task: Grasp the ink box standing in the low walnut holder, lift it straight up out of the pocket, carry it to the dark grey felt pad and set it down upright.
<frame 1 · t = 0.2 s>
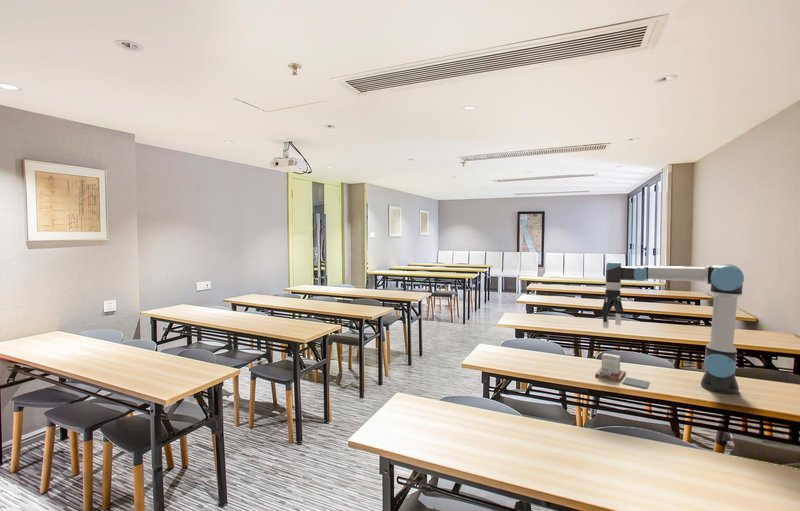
hand: (611, 326, 219), 27 cm above the table, fingers open, 13 cm apart
holder: (610, 375, 215), on the table
ink box: (610, 376, 215), resting in holder
pad: (636, 383, 204), on the table
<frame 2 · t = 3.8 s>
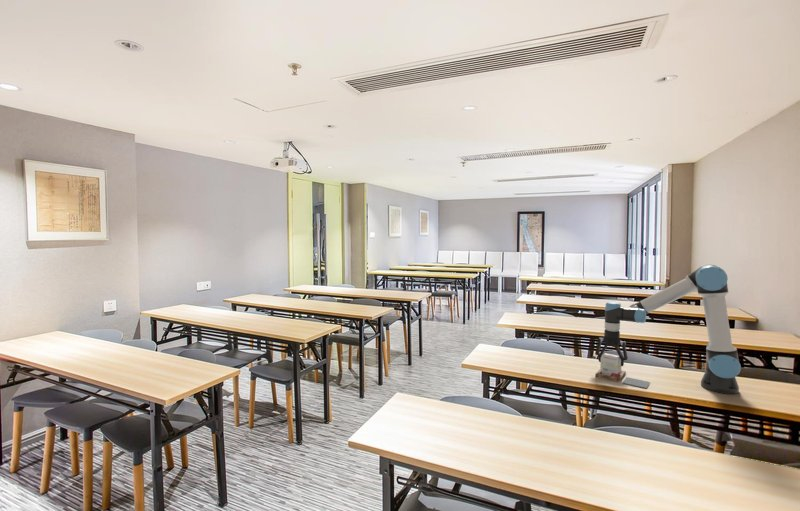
hand: (610, 369, 215), 3 cm above the table, fingers closed on ink box, 8 cm apart
ink box: (610, 375, 215), resting in holder, touching gripper
when the fingers open (6 cm above the table, at t = 12.0 s): ink box drops 2 cm, resting on pad.
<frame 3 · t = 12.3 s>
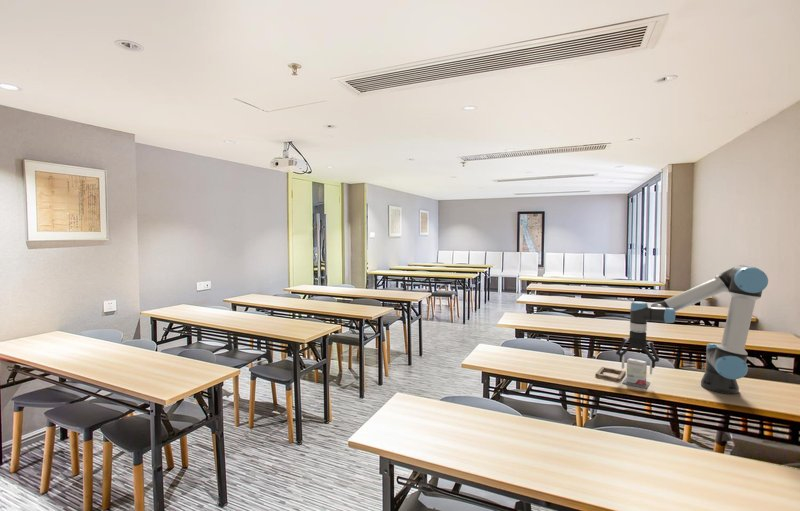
hand: (636, 370, 204), 7 cm above the table, fingers open, 12 cm apart
ink box: (636, 382, 204), resting on pad
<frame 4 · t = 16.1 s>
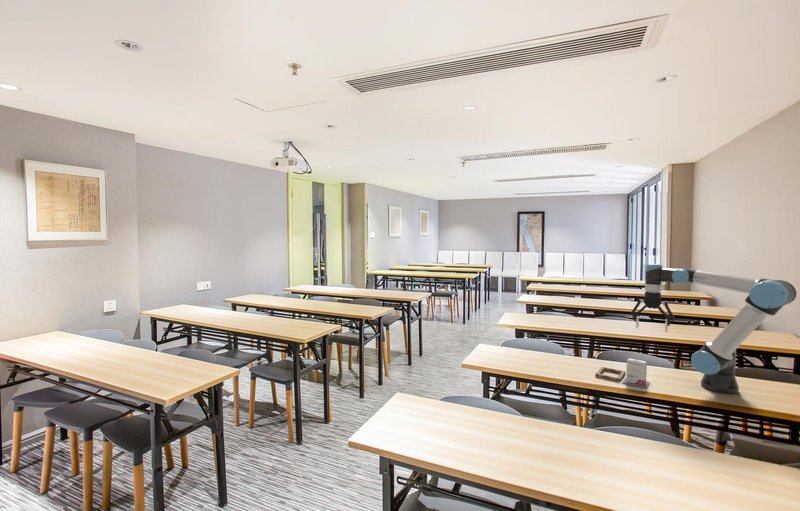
hand: (651, 329, 213), 27 cm above the table, fingers open, 13 cm apart
nothing on the table moved.
at the end: ink box inside the target area (0.1 cm from its centre), resting on pad; ink box tilted 0°; the gripper is holding nothing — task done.
